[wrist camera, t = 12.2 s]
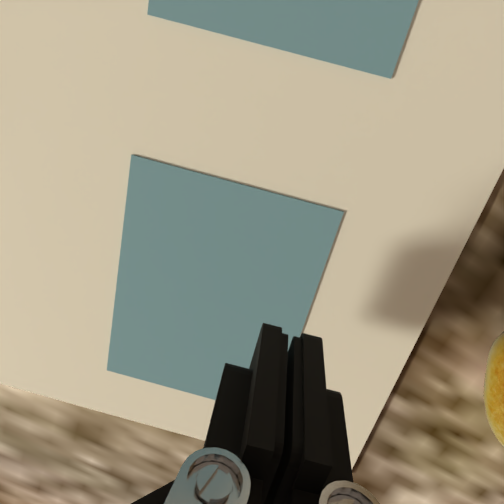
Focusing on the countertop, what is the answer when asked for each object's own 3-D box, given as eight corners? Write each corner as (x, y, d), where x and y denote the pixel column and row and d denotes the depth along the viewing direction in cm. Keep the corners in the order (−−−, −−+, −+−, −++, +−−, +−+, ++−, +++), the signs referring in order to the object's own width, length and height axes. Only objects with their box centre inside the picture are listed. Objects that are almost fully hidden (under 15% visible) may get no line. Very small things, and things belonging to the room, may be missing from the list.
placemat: (-94, -814, 7) (-115, -862, 7) (872, -583, 7) (904, -620, 7) (-24, 371, 18) (-31, 377, 18) (346, 473, 18) (346, 482, 18)
